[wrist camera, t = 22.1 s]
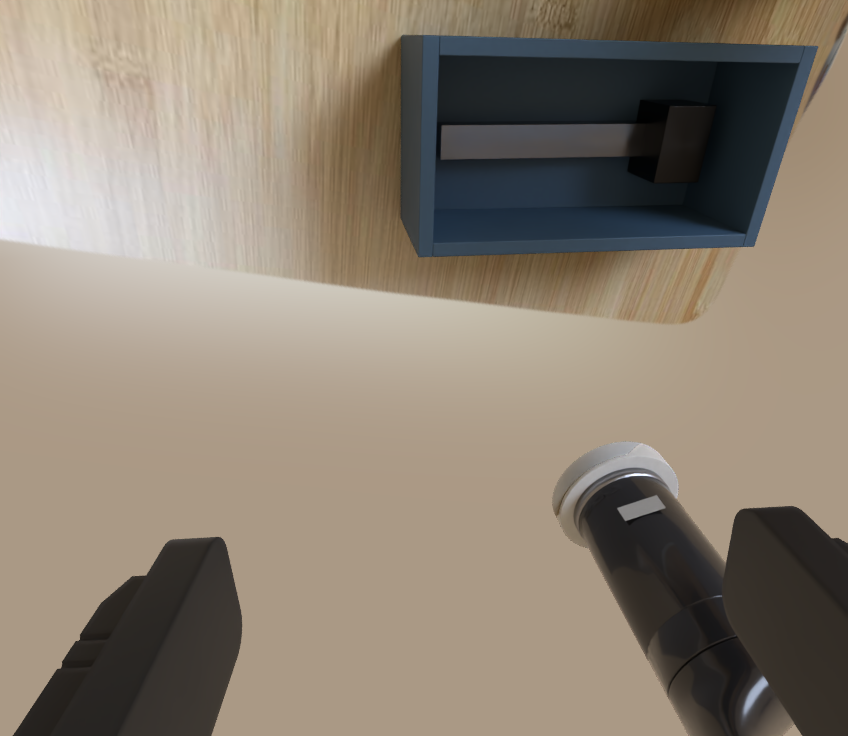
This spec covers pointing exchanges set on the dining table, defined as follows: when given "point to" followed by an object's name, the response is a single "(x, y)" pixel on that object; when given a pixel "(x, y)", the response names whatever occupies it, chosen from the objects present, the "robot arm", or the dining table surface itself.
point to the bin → (590, 177)
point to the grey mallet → (595, 140)
